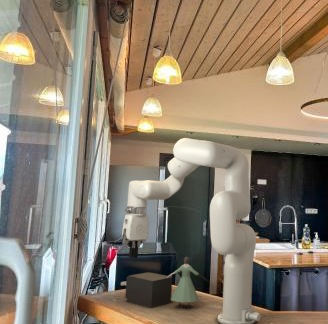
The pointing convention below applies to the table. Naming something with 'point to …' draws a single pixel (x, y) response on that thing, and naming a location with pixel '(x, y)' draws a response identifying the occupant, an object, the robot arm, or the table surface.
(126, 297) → the drawer
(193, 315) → the table surface
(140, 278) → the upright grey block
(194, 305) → the table surface
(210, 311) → the table surface
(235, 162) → the robot arm
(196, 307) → the table surface
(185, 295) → the character figurine
